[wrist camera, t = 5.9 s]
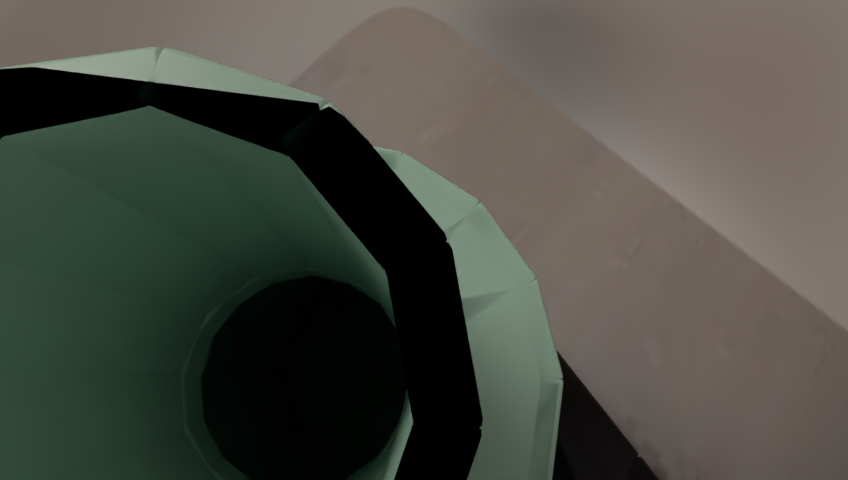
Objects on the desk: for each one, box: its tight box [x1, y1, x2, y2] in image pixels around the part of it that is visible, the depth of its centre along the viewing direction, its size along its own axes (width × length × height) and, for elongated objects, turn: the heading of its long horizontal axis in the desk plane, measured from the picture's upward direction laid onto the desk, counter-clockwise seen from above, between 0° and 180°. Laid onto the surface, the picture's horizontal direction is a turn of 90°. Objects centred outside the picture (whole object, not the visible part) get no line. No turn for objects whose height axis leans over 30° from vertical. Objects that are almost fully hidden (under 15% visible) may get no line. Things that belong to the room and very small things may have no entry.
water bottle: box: [0, 47, 563, 480], centre depth 9 cm, size 6×6×14 cm
